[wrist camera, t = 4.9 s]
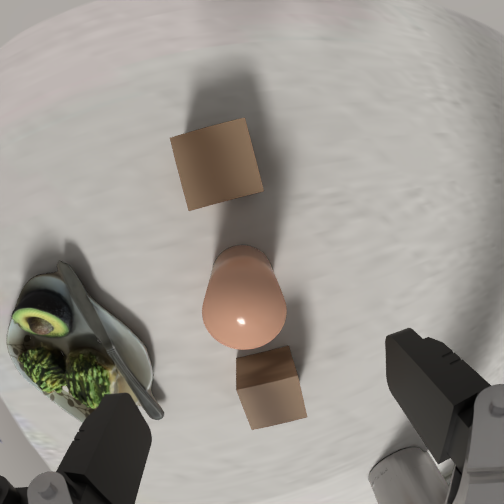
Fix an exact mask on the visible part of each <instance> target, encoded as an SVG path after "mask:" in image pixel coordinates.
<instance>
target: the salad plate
mask: <svg viewBox="0 0 504 504" xmlns="http://www.w3.org/2000/svg"><path fill="white" fill-rule="evenodd" d="M57 268H58V271H57V272H54V273H46V274H40V275H36V276H35V277H33V278H31V279H30V280H29V281H28V282H27V283H26V285H25V286H24V288H23V289H22V291H21V294H20V296H19V298H18V301H17V304H16V307H15V309H14V311H13V313H12V316H11V317H12V318H11V322H10V325H9V328H8V333H7V348H8V352H9V354H10V357H11V359H12V361H13V363H14V365H15V367H16V369H17V370H18V371H19V373H20V374H21V375H22V376H23V377H24V378H25V379H26V380H27V381H28V382H29V383H30V384H31V385H33V386H34V387H35V388H36V389H37V390H39V391H40V392H41V393H43V394H44V395H45V396H46V397H48V398H49V399H50V400H51V401H53V402H54V403H56V404H57V405H58V406H59V407H61V408H62V409H63V410H64V411H66V412H67V413H68V414H70V415H71V416H73V417H74V418H76V419H77V420H79V421H81V422H82V423H83V422H84V420H85V419H86V418H87V417H88V416H89V415H90V414H91V413H92V412H93V411H94V410H95V409H97V407H98V405H99V404H100V402H101V400H102V398H103V397H104V395H106V394H114V393H129V394H130V395H131V396H132V398H133V400H134V402H135V403H136V405H137V406H138V405H139V406H142V407H143V408H144V410H145V411H146V413H147V414H148V415H149V417H150V418H152V419H155V420H160V419H162V418H163V417H164V411H163V410H162V408H161V407H160V405H159V404H158V403H157V401H156V399H155V398H154V397H153V395H152V392H151V386H152V381H153V376H154V374H153V370H152V365H151V361H150V358H149V355H148V351H147V348H146V347H145V345H144V344H143V343H142V342H141V340H140V339H139V338H138V337H137V336H136V335H135V334H134V333H133V332H132V331H131V330H130V329H129V328H128V327H127V326H126V325H124V324H123V323H122V322H121V321H120V320H119V319H117V318H116V317H114V316H113V315H112V314H110V313H109V312H108V311H107V310H106V309H104V308H103V307H102V306H100V305H99V304H98V303H97V302H96V301H95V300H94V299H93V298H92V297H90V295H89V294H88V293H87V291H86V290H85V288H84V286H83V284H82V283H81V281H80V279H79V278H78V277H77V275H76V274H75V272H74V271H73V269H72V268H71V266H70V265H68V264H66V263H63V262H62V261H60V260H59V261H58V264H57ZM30 337H31V339H30ZM97 338H98V339H99V341H100V342H101V343H99V342H98V341H97ZM61 351H62V352H63V354H64V356H63V355H62V353H61ZM65 385H66V386H67V387H68V389H69V393H67V392H66V391H64V390H63V389H62V387H63V386H65Z"/></svg>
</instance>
